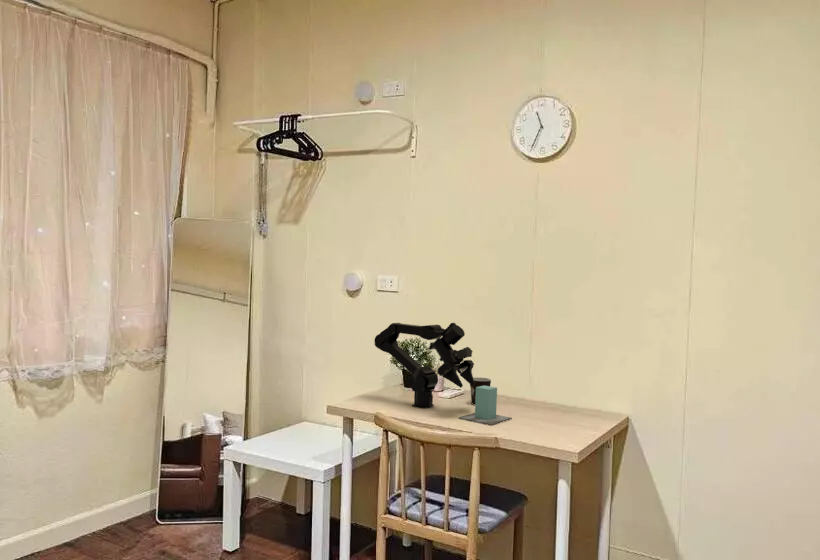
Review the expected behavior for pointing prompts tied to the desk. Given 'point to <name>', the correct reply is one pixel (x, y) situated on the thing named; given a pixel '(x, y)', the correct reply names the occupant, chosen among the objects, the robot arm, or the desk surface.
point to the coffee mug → (478, 383)
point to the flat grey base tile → (490, 422)
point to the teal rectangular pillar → (485, 402)
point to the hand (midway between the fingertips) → (467, 386)
